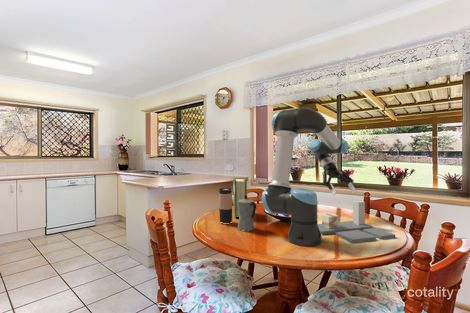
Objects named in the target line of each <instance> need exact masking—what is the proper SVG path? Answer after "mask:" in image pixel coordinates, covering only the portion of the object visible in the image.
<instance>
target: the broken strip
mask: <svg viewBox="0 0 470 313" xmlns="http://www.w3.org/2000/svg"><path fill="white" fill-rule="evenodd" d="M335 236H336V237H338V238H340V239H343V240H345V241H346V242H349V243H351V244H355V243H356V244H357V243H363V242H364V243H365V242H372V241H373V242H374V241H377V239H378V240H389V239H394V238H395V239H396V234H394V233H392V232H390V231H386V230H383V229H380V228H378V227H373V228H371V229H363V230H353V231H344V232H336V233H335Z"/></svg>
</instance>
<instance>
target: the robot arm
mask: <svg viewBox="0 0 470 313" xmlns="http://www.w3.org/2000/svg"><path fill="white" fill-rule="evenodd" d="M327 123H328V121H327V119H326V117H324V116H323V115H322V113H320V112H319V111H316V110H315V109H312V108H310V107H304V106H303V107H298V108H290V109H282V110H279V111H277V112H275V113H274V114H273V116H272V118H271V126H272V127H271V128H272V129H271V130H273V132H274V134H275V136H276V137H277V138H276V146H275V153H274V154H275V155H274V159H273V160H274V162H273V170H272V178H271V182H270V183H268V185H267V188H265V189H264V190H263V191H262V194H261V203H262V206H263V209H264V210H265V211H266V212H269V213H271V214H272V213H273V214H279V215H284V216H291V217H290V218H291V220H290V222H291V223H290V226H289V229H288V233H287V241H288V242H290V243H292V244H294V245H297V246H306V247H309V246H311V247H313V246H318V245H320V244H322V241H323V236H322V234H321V233H320V230H319V227H318V224H319V223H318V203H319V202H318V201H319V200H318V195H317V193H316V192H315V191H313V190H311V189H307V188H302V187H301V188H300V187H294V188H292V186H291V185H290V178H291V167H292V160H293V152H294V140H295V138H297V137H298V133H299V132H301V131H309V132H310V133H312V134H315V135H316V136H317V137H318V138H319V139H320V140H319V139H317V138H315V139H312V140H311V141H310V142H309V143H308V147H309V150H310V151H311V152H312V154H313V155H314V156H315V157H316V159H317V161H318V162H319V164H320V165H321V167H322V169H323V172H322V173H321V174H322V176H323V177H322V184H323V186H325V187H327V188H328V189H329V190H330V192H331V193H332V195H333V196H334V195H336V193H337V191H336V189H335V187H334V185H333V184H332V182H331V181H332V179H338V180H341V181H342V182H344V183H346V184H347V187H348V188H349V189H350V191H351V193H352V194H354V195H355V193H357V189H356V187H355V185H354V184H353V183H354V181H355V180H354V179H353V178H351V176H349V175H348V174H346V173H345V171H343V170H340V171H339V170H338V167H337V165H336V164H335V162H334V161H333V159H332V157H331V155H330V154H334V155H335V154H346V153H348V151H349V143H348V141H346V140H340V138H339V137H338V136H337V135H336V134H335V132H334V131H333V130H332V129H331V128H330V126H329V125H328V124H327Z"/></svg>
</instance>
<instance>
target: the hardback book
mask: <svg viewBox="0 0 470 313" xmlns="http://www.w3.org/2000/svg"><path fill="white" fill-rule="evenodd" d="M232 183H233V214H235V215H234V218H235V217H240V214H239V210H238V204H237V201H238V200H241V199H245V198H244V196H245V195H246V196H247V195H248V194H247V191H248V190H247V188H248V187H247V186H248V185H247V179H246V178H245V177H233V182H232ZM247 197H248V196H247Z"/></svg>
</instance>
